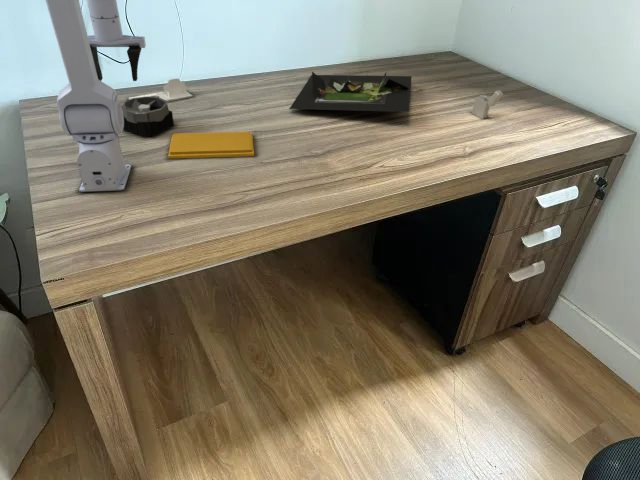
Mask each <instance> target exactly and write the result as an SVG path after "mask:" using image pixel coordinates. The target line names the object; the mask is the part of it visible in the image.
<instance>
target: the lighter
mask: <svg viewBox="0 0 640 480" xmlns="http://www.w3.org/2000/svg"><path fill="white" fill-rule="evenodd" d="M503 95H504V93H503V92H502V90H501V89H498V90H495V91H494V93H493V94H492V95H491V97H490V98H489V97H488V95H485V94H480V95H479V96H475V97H474V102H473V105H472V110H471V114H472V115H474V116H476V117H478V118H480V119H482V120H483V119H487V118H488V115H489V111H490V107H494V106H496V104H497V103H498V102H499V100H500V99H501V98H502V97H503Z"/></svg>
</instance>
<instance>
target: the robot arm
mask: <svg viewBox="0 0 640 480" xmlns="http://www.w3.org/2000/svg"><path fill="white" fill-rule="evenodd" d="M86 2H87V9H88V13H89V17H90V22H91V27H92V31H93V35H88V32H87V28H86V24H85V20H84V16H83V12H82V8H81V4H80V0H45V3H46V7H47V11H48V14H49V18H50V20H51V21H50V22H51V24H52V28H53V31H54V35H55V38H56V42H57V46H58V49H59V52H60V56H61V59H62V60H61V61H62V63H63V66H64V70H65V74H66V77H67V80H68V84H67V85H65V87H63V88H62V89H61V90H60V91H59V92H58V95H57V98H56V105H57V109H58V118H59V123H60V126H61V129H62V130H63V132H64V133H65V134H66V135H67V136H71V137H72V141H74V142H76V143H77V147H78V155H77V159H76V165H77V168H78V171H79V174H80V178H81V184H80V187H79V189H78V190H79V192H81V193H87V192H88V193H89V192H111V191H124V190H125V189H126V185H127V182H128V178H129V176H130V172H131V169H132V165H131V164H125V161H124V160H125V159H124V156H123V151H122V146H121V142H120V137H119V135H120V134H122V132H123V131H124V130H123V129H124V117H123V111H122V107H121V106H122V104H121V102H120V100H119V97H118V93H117V92H116V89H115V88H113V87H112V86H110V85H108V84H107V83H105V82H103V81H102V80H103V73H102V69H101V64H100V60H99V54H98V48H128V49H127V50H126V54H127V57H128V62H129V65H130V71H131V78H132V82H137V81H138V68H139V61H140V56H141V52H142V49H145V48H146V47H147V44H146V38H145V36H139V35H130V34H129V35H128V34H123V29H122V23H121V18H120V13H119V8H118V3H117V0H86Z"/></svg>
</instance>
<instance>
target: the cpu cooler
mask: <svg viewBox="0 0 640 480" xmlns="http://www.w3.org/2000/svg"><path fill="white" fill-rule="evenodd" d="M121 107H122V111H123V117H124V129H123V131H126V132H129V133H132V134H136V135H139V136H142V137H145V138H146V137H153V136H156V135H158V134H159V133H163V132H164V131H165V130H168V129H169V128H172V127H173V126H175V125H174V122H175V121H174V115H173V111H172V110H170V109H169V106H168V102H166V100H164V99H161V98H159V97H149V96H148V97H139V98H132V99H130V100H129V99H128V100H126V101H125V102H124V103H123V104H121Z"/></svg>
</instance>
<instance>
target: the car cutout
mask: <svg viewBox="0 0 640 480" xmlns="http://www.w3.org/2000/svg"><path fill="white" fill-rule="evenodd" d="M162 89H163V90H162V91H158V92H157V91H156V92H151V93H145V94H140V95H134V96H129V97H127V98H128V101H129V100H130V99H132V98H139V97H148V96H149V97H159V98H161V99H164V100H166V102H167V103H170V102H174V101H180V100H186V99H191V98H193V97H194V96H193V94H192V93H190V92H189V91H187V90H188V88H187V85H186V82H185V81H181V80H180V79H179V78H172V79H169V80H167V83H166V84H164V85H163V88H162Z"/></svg>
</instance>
